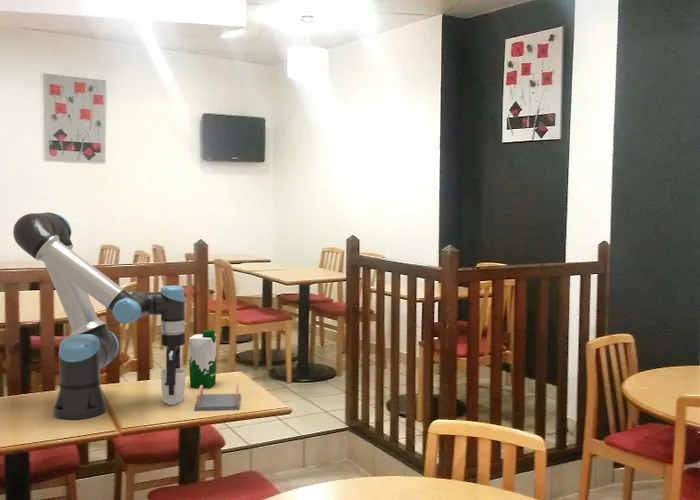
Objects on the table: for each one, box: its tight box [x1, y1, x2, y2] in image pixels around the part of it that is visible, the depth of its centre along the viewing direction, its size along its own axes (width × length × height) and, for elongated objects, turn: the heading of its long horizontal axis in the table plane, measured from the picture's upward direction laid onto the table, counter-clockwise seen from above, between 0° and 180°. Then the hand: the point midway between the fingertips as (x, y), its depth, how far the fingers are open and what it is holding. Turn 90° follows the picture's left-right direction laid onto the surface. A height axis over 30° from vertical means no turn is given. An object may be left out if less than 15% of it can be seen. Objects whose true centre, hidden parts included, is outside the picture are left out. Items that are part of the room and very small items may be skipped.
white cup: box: [160, 368, 186, 404], centre depth 225 cm, size 8×8×10 cm
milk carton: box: [188, 329, 218, 389], centre depth 244 cm, size 9×9×20 cm
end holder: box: [193, 383, 242, 412], centre depth 223 cm, size 14×14×5 cm
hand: (173, 399), depth 226 cm, fingers open, 9 cm apart
